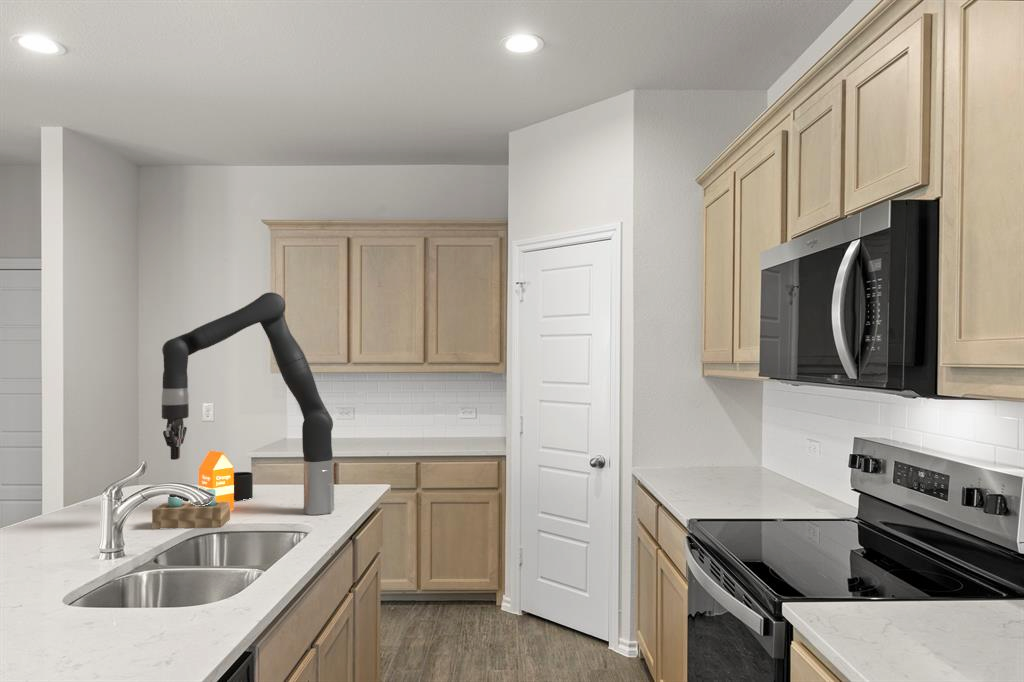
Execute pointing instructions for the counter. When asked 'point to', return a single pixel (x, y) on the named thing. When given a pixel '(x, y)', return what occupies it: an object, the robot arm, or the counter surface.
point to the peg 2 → (214, 498)
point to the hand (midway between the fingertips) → (175, 459)
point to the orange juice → (218, 476)
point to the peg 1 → (174, 502)
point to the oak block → (191, 516)
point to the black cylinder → (243, 485)
